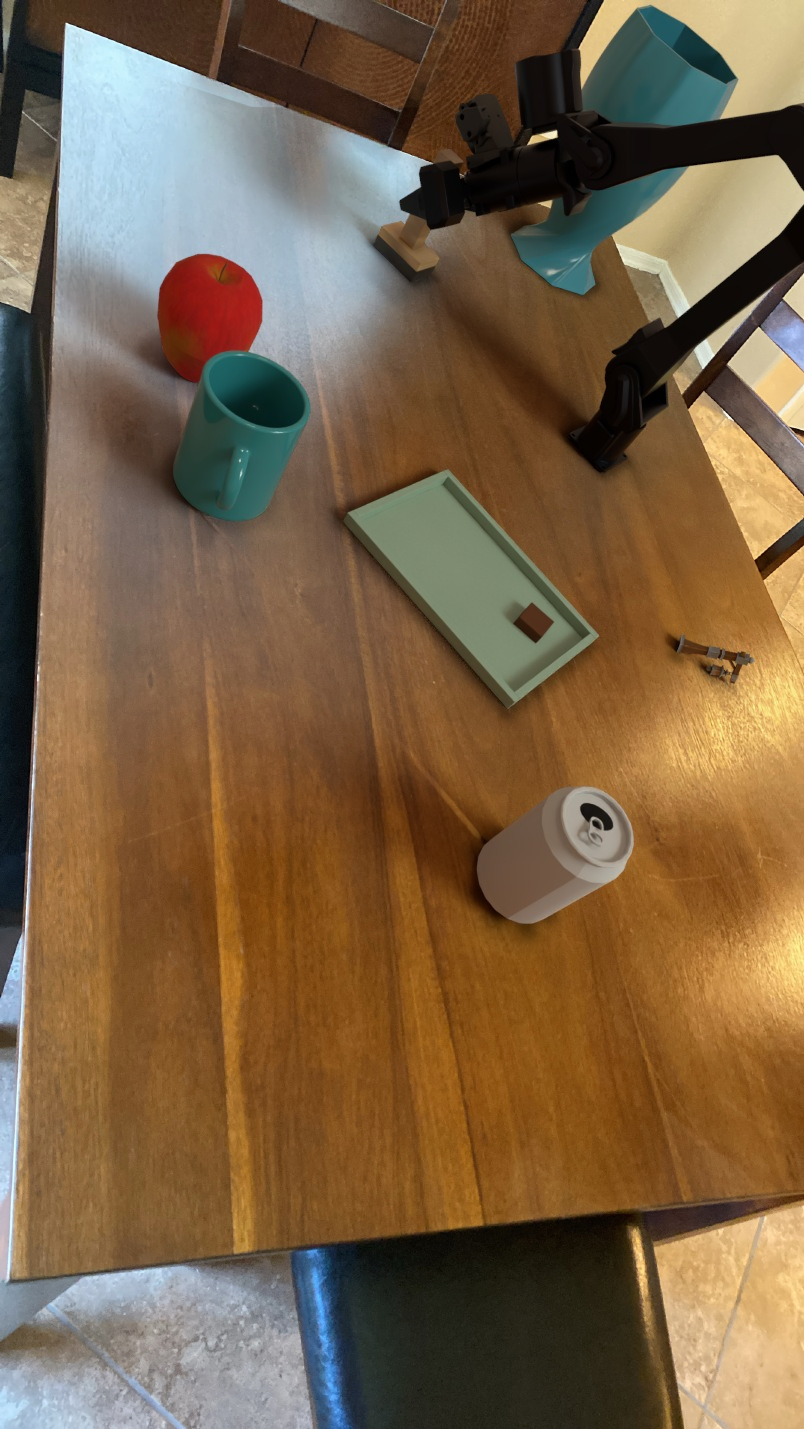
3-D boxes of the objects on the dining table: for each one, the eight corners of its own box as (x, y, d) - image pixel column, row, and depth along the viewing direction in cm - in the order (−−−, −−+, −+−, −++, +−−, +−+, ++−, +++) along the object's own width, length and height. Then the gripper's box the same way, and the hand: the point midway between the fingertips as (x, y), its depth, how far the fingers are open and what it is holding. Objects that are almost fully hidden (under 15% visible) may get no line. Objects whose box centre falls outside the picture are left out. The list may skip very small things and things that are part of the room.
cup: (155, 529, 73) (187, 430, 64) (180, 434, 79) (211, 333, 71) (259, 563, 76) (302, 473, 67) (274, 469, 82) (315, 376, 74)
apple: (229, 345, 88) (265, 238, 79) (248, 410, 85) (287, 306, 76) (136, 329, 84) (163, 213, 74) (152, 397, 80) (182, 284, 71)
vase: (522, 281, 122) (660, 54, 100) (491, 207, 130) (613, -21, 107) (615, 312, 131) (763, 108, 108) (581, 239, 138) (712, 35, 115)
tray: (440, 480, 92) (447, 468, 91) (589, 645, 89) (599, 635, 88) (340, 524, 82) (347, 512, 81) (504, 711, 80) (514, 702, 78)
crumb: (525, 608, 87) (532, 601, 86) (548, 628, 87) (554, 621, 86) (512, 623, 85) (519, 616, 84) (535, 643, 85) (542, 637, 84)
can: (558, 865, 73) (649, 807, 64) (540, 943, 69) (636, 893, 60) (484, 823, 72) (565, 758, 63) (460, 900, 67) (545, 842, 58)
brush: (430, 275, 112) (482, 174, 102) (411, 282, 110) (463, 178, 99) (392, 239, 113) (440, 134, 102) (372, 244, 110) (420, 137, 100)
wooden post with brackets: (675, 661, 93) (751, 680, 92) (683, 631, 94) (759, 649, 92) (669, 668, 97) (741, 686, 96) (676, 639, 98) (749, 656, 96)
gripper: (560, 84, 99) (447, 118, 108) (474, 92, 87) (355, 129, 96) (569, 196, 104) (461, 219, 114) (490, 217, 92) (376, 241, 102)
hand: (417, 201), depth 106 cm, fingers open, 7 cm apart
